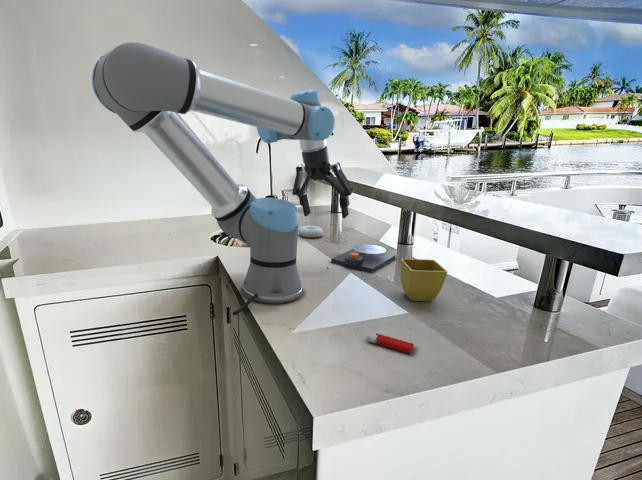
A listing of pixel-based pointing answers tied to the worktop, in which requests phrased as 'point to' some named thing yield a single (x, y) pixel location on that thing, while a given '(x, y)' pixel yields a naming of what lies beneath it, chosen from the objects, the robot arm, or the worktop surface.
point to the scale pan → (369, 249)
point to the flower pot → (422, 278)
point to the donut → (310, 231)
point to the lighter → (391, 342)
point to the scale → (363, 261)
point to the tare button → (353, 255)
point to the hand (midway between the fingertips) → (325, 215)
